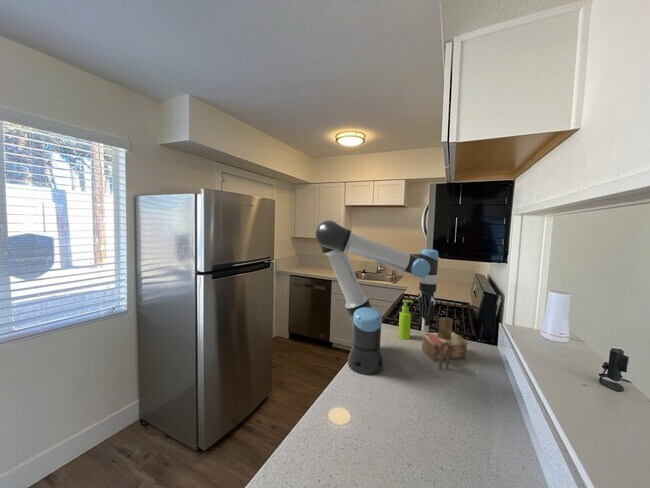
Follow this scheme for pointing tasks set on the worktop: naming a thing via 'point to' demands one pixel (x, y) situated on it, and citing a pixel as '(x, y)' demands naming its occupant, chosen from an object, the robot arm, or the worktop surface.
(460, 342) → the wooden board with post
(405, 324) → the soap dispenser
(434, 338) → the red bar
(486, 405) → the worktop surface
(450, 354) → the toolbox
